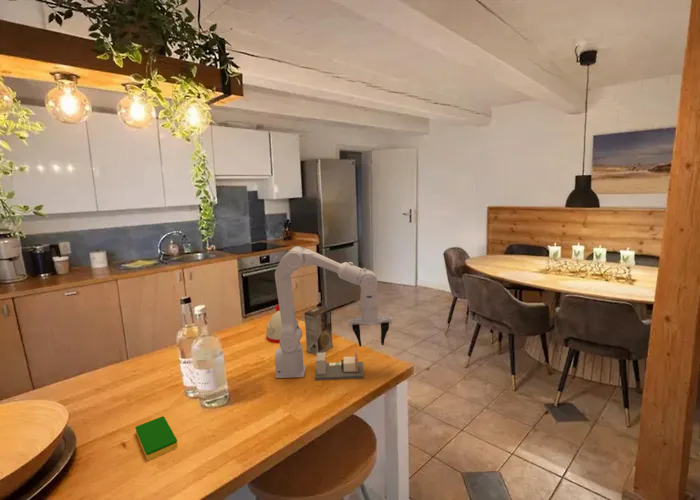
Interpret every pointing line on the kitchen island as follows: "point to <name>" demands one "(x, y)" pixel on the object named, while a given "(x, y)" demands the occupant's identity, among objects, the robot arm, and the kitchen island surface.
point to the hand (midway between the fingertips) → (371, 344)
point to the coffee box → (318, 329)
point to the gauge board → (335, 370)
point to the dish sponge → (156, 438)
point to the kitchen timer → (274, 327)
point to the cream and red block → (350, 363)
